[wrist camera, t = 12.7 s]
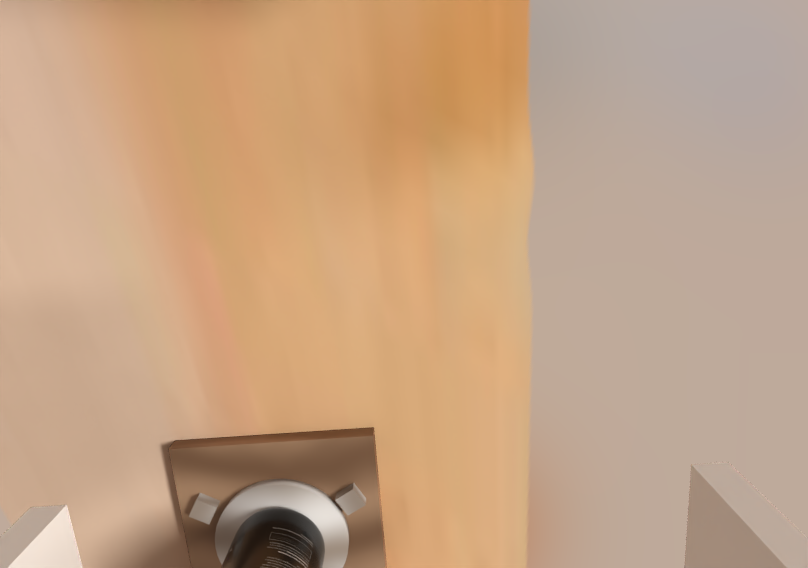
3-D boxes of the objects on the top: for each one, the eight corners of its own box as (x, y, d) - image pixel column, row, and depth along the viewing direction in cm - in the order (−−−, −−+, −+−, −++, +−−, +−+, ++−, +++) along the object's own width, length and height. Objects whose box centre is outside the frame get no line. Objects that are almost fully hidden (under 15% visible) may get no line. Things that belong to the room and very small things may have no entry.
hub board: (174, 440, 40) (163, 455, 38) (373, 427, 40) (372, 441, 38) (208, 614, 44) (199, 636, 42) (390, 603, 44) (389, 624, 42)
